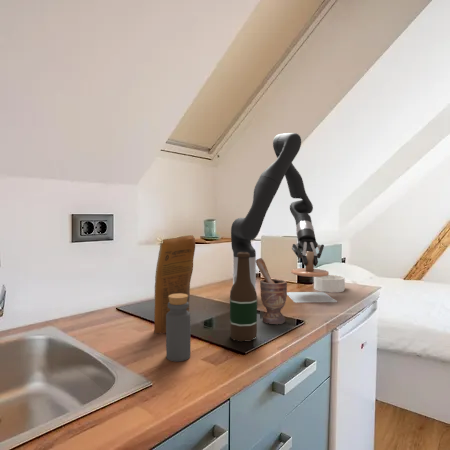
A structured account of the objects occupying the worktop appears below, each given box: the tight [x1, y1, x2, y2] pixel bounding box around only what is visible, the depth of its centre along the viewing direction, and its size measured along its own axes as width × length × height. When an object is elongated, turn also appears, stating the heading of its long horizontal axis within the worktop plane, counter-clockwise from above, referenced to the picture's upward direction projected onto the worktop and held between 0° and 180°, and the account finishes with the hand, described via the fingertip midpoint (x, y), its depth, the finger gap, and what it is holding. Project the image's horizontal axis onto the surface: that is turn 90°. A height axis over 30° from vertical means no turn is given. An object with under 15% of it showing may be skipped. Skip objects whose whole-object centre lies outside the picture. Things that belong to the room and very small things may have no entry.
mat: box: [287, 291, 338, 304], centre depth 139 cm, size 17×17×1 cm
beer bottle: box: [229, 252, 258, 341], centre depth 94 cm, size 8×8×24 cm
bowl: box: [313, 274, 346, 293], centre depth 154 cm, size 13×13×6 cm
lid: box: [290, 251, 330, 278], centre depth 139 cm, size 15×15×9 cm
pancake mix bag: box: [153, 234, 196, 335], centre depth 103 cm, size 7×19×28 cm, turn 148°
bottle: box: [165, 293, 191, 362], centre depth 82 cm, size 6×6×15 cm
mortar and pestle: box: [256, 257, 288, 325], centre depth 110 cm, size 12×9×20 cm
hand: (310, 264), depth 137 cm, fingers closed on lid, 3 cm apart
